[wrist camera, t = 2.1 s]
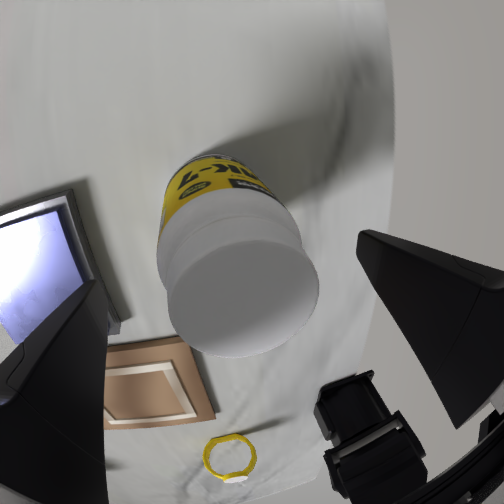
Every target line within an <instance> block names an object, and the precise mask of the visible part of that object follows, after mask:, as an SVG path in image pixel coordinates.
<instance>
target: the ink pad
mask: <svg viewBox="0 0 504 504" xmlns="http://www.w3.org/2000/svg"><path fill="white" fill-rule="evenodd" d="M92 279H97V280H98V281H99V282H100V284H101V287H102V289H103V292H104V294H105V296H106V299H107V302H108V335H116V334H120V327H121V322H120V320H119V317H118V315H117V313H116V311H115V309H114V306H113V304H112V302H111V300H110V297H109V295H108V293H107V290H106V288H105V285H104V283H103V280H102V278H101V275H100V273H99V270H98V268H97V265H96V263H95V260H94V257H93V254H92V252H91V249H90V246H89V243H88V240H87V237H86V234H85V231H84V228H83V225H82V222H81V218H80V215H79V212H78V208H77V205H76V201H75V198H74V194H73V190H72V189H71V190H67V191H64V192H60V193H57V194H54V195H50V196H47V197H44V198H41V199H38V200H35V201H32V202H29V203H26V204H23V205H20V206H17V207H14V208H12V209H9V210H6V211H4V212H1V213H0V322H1V323H2V325H3V326H4V328H5V329H6V331H7V332H8V334H9V335H10V337H11V338H12V340H13V341H14V342H15V344H20V343H21V342H23V340H24V339H25V338H26V337H27V336H28V335H29V334H30V333H31V332H32V331H33V330H34V329H35V328H36V327H37V326H38V325H39V324H40V323H41V322H42V321H43V320H44V319H45V318H46V317H47V316H48V315H49V314H50V313H51V312H52V311H54V310H55V309H56V308H57V307H58V306H59V305H60V304H61V303H62V302H63V301H64V300H65V299H66V298H67V297H69V296H70V295H71V294H72V293H73V292H74V291H75V290H76V289H77V288H79V287H80V286H81V285H82V284H83V283H84V282H85V281H87V280H92Z"/></svg>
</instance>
